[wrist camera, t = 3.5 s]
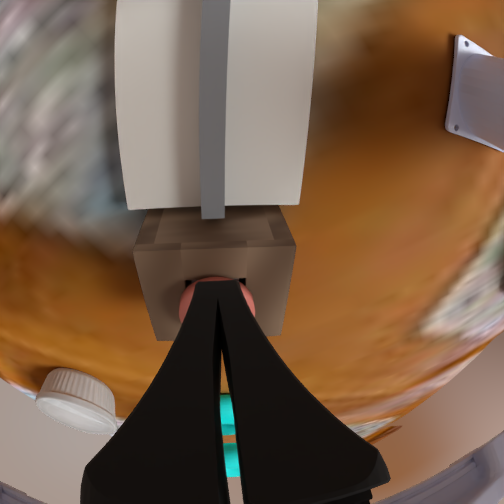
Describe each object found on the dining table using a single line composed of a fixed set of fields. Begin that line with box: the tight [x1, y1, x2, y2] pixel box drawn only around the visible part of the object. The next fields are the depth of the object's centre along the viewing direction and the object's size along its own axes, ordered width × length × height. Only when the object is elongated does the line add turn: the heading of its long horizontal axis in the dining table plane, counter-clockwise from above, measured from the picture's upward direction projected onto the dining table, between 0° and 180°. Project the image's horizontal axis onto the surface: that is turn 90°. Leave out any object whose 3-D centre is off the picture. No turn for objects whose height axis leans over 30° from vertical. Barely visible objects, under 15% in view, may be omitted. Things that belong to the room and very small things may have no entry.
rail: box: [115, 0, 318, 219], centre depth 10 cm, size 10×22×3 cm, turn 177°
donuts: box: [220, 395, 240, 477], centre depth 31 cm, size 10×10×10 cm
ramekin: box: [35, 368, 117, 434], centre depth 27 cm, size 11×11×5 cm
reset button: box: [179, 277, 255, 323], centre depth 17 cm, size 4×4×5 cm
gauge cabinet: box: [133, 205, 296, 341], centre depth 18 cm, size 8×7×5 cm
